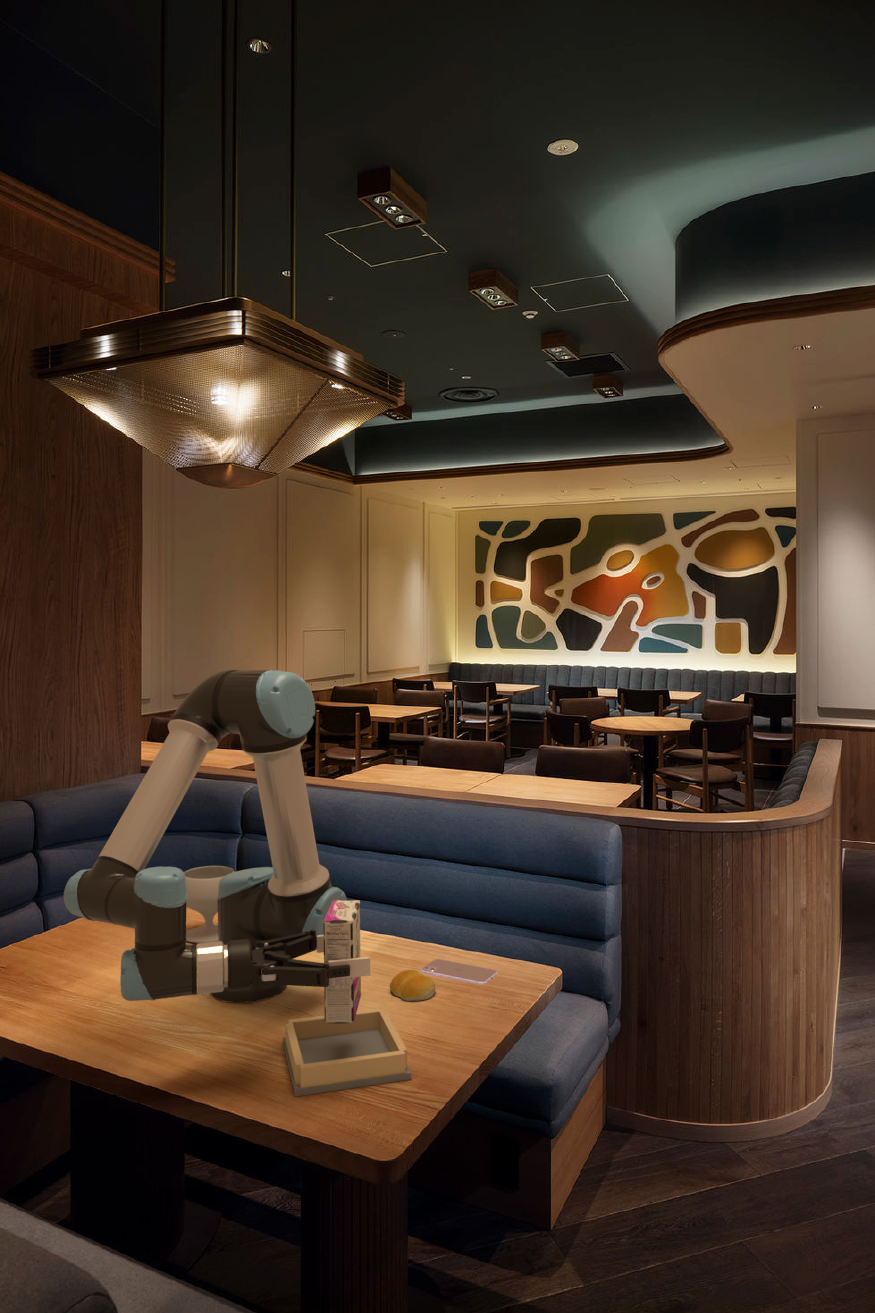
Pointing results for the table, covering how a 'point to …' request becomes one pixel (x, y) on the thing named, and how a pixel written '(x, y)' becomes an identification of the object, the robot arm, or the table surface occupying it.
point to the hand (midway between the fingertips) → (362, 952)
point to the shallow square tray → (344, 1053)
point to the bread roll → (412, 986)
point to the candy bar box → (342, 945)
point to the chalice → (204, 899)
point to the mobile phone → (459, 971)
